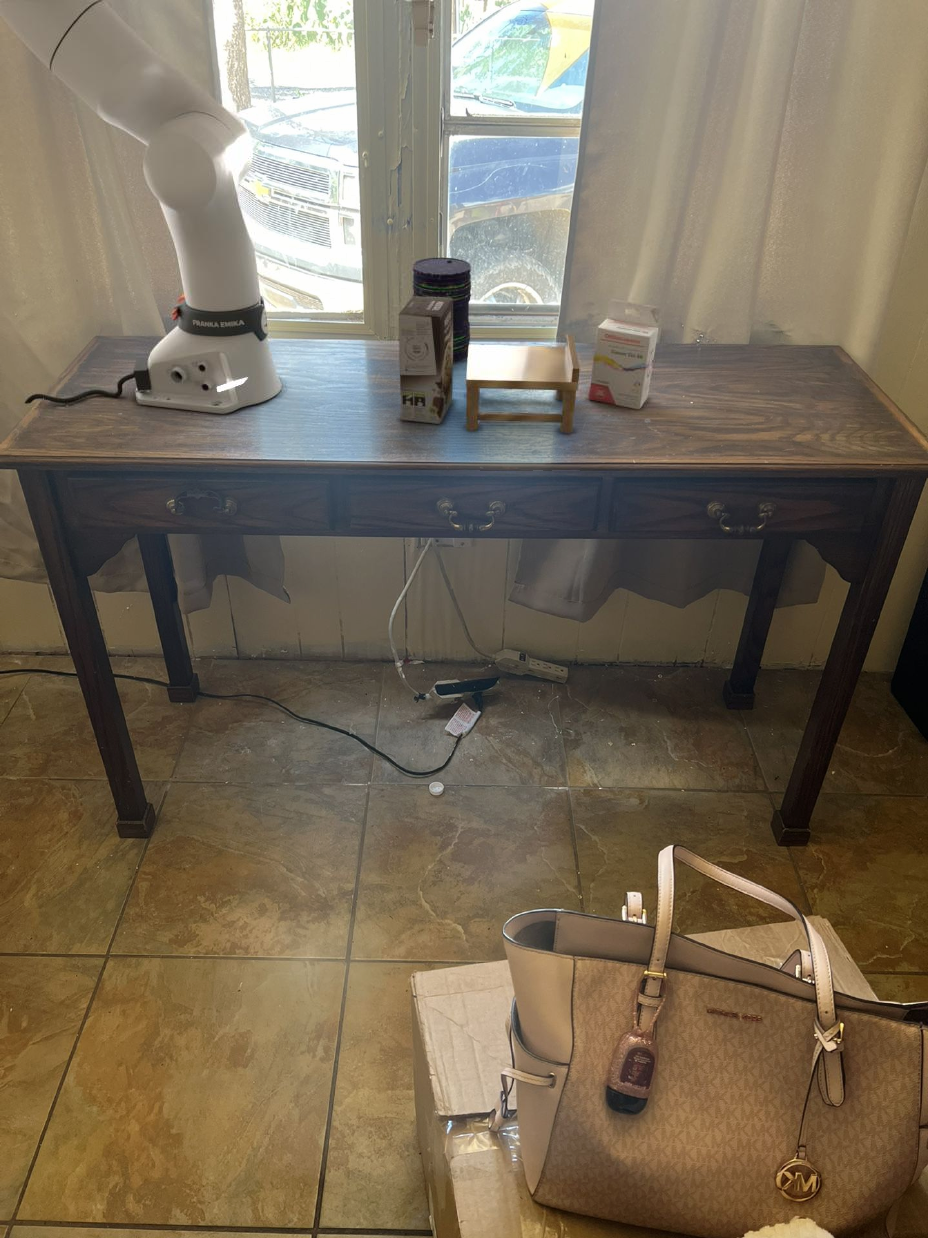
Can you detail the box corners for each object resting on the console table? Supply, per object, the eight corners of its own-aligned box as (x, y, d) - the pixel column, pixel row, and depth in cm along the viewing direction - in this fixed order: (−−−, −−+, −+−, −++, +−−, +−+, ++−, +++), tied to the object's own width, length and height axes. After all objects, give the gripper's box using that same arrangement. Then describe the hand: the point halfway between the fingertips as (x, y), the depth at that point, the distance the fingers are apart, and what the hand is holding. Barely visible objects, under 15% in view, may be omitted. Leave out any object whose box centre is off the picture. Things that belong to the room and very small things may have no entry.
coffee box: (441, 424, 133) (441, 316, 123) (399, 420, 134) (396, 313, 124) (454, 400, 140) (455, 296, 130) (414, 396, 141) (412, 293, 131)
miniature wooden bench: (465, 431, 131) (466, 365, 125) (467, 393, 142) (468, 331, 136) (573, 434, 131) (579, 368, 125) (567, 395, 142) (573, 333, 136)
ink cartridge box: (587, 400, 141) (597, 306, 132) (597, 389, 144) (607, 297, 135) (640, 410, 138) (653, 315, 129) (648, 398, 141) (662, 305, 132)
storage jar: (454, 368, 150) (455, 277, 141) (403, 358, 154) (401, 268, 145) (479, 349, 158) (481, 261, 149) (429, 340, 161) (429, 254, 152)
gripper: (403, -96, 113) (406, 34, 121) (387, -103, 96) (392, 48, 105) (453, -95, 113) (452, 35, 121) (445, -102, 96) (445, 49, 105)
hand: (424, 41), depth 113 cm, fingers open, 8 cm apart
